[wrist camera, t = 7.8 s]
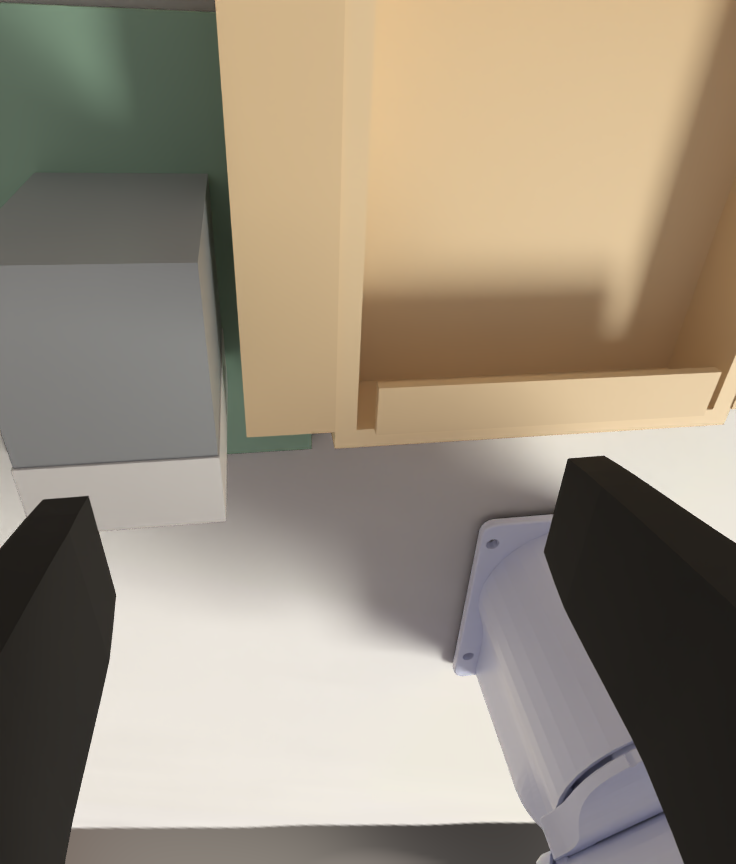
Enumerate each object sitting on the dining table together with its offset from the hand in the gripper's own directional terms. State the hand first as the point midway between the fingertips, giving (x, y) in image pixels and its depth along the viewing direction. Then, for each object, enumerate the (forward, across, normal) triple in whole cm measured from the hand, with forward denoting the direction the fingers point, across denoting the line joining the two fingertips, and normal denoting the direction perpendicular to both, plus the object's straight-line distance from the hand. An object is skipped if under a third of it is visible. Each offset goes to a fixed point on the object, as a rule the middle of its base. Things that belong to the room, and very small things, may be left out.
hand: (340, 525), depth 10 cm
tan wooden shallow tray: (+10, -7, -3) cm, 13 cm away
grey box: (+10, +4, 0) cm, 11 cm away
